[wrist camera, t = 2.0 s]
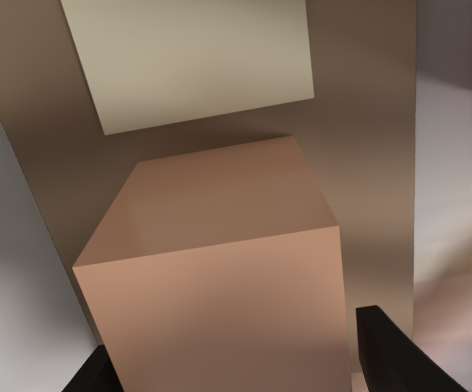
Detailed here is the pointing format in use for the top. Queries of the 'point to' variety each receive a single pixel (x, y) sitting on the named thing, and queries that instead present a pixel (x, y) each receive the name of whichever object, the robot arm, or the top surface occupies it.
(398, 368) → the robot arm
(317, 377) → the terracotta cover
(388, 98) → the walnut board
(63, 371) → the top surface
